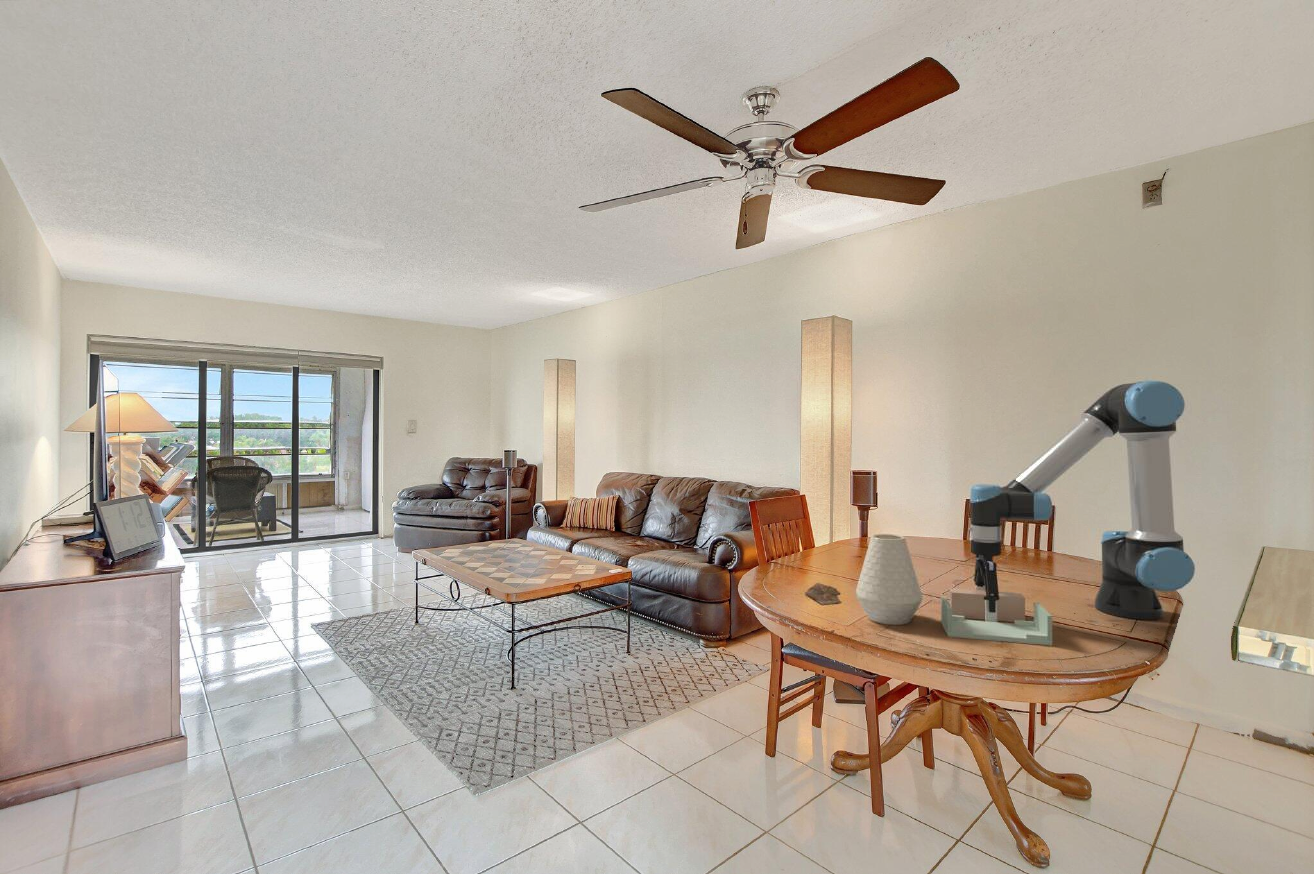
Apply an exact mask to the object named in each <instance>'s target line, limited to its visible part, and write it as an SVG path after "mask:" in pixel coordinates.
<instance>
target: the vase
mask: <svg viewBox="0 0 1314 874" xmlns="http://www.w3.org/2000/svg"><path fill="white" fill-rule="evenodd" d="M917 577H918V576H917V573H916V570H915V567H914V563H913V560H912V556H911V554H910V550H909V546H908V544H907V541H906V537H905V536H902V535H899V534H893V533H892V534H891V533H878V534H877V533H876V534H872V535H871V536H870V540H869V544H868V546H867V550H866V553H865V557H864V560H863V565H862V567H861V571H860V575H859V579H858V582H857V586H856V588H855V596H856V598H857V600H858V601H859V603H860V605H861V607H862V609H863V611H864V612H865V614H866V617H867V618H868V620H870V621H872V622H873V623H874V622H875V623H877V624H881V625H886V626H887V625H889V626H903V625H907V624H908V623H910V622H911V621H912V619H913V618H914V615H915V614H916V612H917V611H918V608H919V607H920V606H921V603H922V602H923V599H924V598H923V593H922V590H921V587H920V584H919V580H918V578H917Z"/></svg>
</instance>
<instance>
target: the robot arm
mask: <svg viewBox="0 0 1314 874" xmlns="http://www.w3.org/2000/svg"><path fill="white" fill-rule="evenodd" d="M1185 406H1186V404H1185V400H1184V397H1183V394H1182V393H1181V391H1180V390H1179V389H1177V388H1176V387H1175V386H1174V385H1172V384H1170V383H1169V382H1168V383H1167V382H1165V381H1160V380H1144V381H1137V382H1132V383H1123V384H1119V385H1116V386H1114V387H1112V388H1111V389H1109V390H1107V391H1106V392H1105V393H1103V395H1102V396H1100V397H1099V398H1098V399H1096V400H1095V402H1093V404H1091V405H1090V406H1089V407H1088V408H1087V409H1086V410H1085V411H1084V412H1083V413H1082V414H1081V415H1080V420H1079V421H1078V422H1077V423H1076V424H1074V425H1073V427H1071V428H1070V429H1069V430H1068V431H1067V432H1066V433H1064V435H1062V436H1061V437H1060V438H1059V439H1058V440H1057V441H1056V442H1055V443H1053V444H1052V445H1051V446H1050V447H1049V448H1047V449H1046V451H1044V452H1043V453H1042V454H1041V455H1039V457H1038V458H1036V459H1035V460H1034V461H1033V462H1032V463H1031V464H1030V465H1029V466H1027V467H1026V468H1025V469H1024V470H1023V471H1022V472H1020V474H1018V475H1017V476H1016V477H1015V478H1014V479H1013V480H1012V481H1010V482H1009V483H1008V484H1007V485H1006V486H1005V485H1004V486H1000V485H998V484H985V483H984V484H982V483H981V484H974V485H973V486H971V488H970V497H969V498H970V499H969V502H970V527H968V529H967V530H968V531H969V532H970V538H971V540H970V553H972V554H973V555H975V565H974V566H975V567H974V573H973V574H974V577H973V581H974V585H975V590H980V591H986V597H984V598H983V599H984V600H985V619H984V620H985V621H987V622H998V620H997V600H999V592H1000V591H999V584H998V573H997V566H998V565H997V562H995V561H994V559H993V558H994V557H998V556H1001V554H1002V542H1001V541H1002V520H1017V521H1019V520H1020V521H1034V522H1037V521H1048V520H1050V518H1051V517H1052V513H1053V503H1052V498H1051V497H1050V495H1049V494H1047V493H1045V492H1044V491H1045V490H1046V489H1048V487H1049V486H1051V485H1052V484H1053V483H1054V482H1056V481H1057V480H1058V479H1059V478H1060V477H1062V475H1064V474H1065V473H1066V472H1067V471H1068V470H1070V468H1072V467H1073V466H1074V465H1075V464H1076V463H1077V462H1079V461H1080V460H1081V459H1082V458H1083V457H1084V456H1085V455H1087V454H1088V453H1089V452H1090V451H1091V450H1092V449H1094V448H1095V447H1096V446H1098V445H1099V443H1101V441H1103V440H1104V439H1105V438H1112V437H1114V436H1115V435H1116V434H1117V433H1118V435H1120V436H1121V437H1122V438H1124V439H1125V440H1126V451H1127V466H1128V467H1127V469H1128V484H1129V485H1128V486H1129V500H1130V514H1131V515H1130V516H1131V517H1130V518H1131V529H1130V530H1128V531H1127V530H1107V531H1104V532H1103V533H1102V535H1101V537H1102V539H1101V542H1100V543H1101V571H1102V572H1101V573H1102V574H1101V578H1102V579H1101V580H1102V581H1101V584H1100V586H1099V589H1098V592H1097V593H1096V597H1095V598H1094V608H1095V609H1096V610H1098V611H1100V612H1102V613H1105V614H1108V615H1113V616H1116V617H1121V618H1127V619H1132V620H1135V619H1136V620H1150V621H1151V620H1159V619H1162V618H1163V616H1164V615H1163V614H1164V610H1163V606H1162V603H1161V601H1160V598H1159V596H1158V593H1157V591H1159V592H1174V591H1178V590H1181V589H1182V588H1184V587H1186V586H1187V585H1188V584H1189V583H1190V582H1191V581H1192V579H1193V578H1194V576H1195V571H1196V567H1195V563H1194V561H1193V559H1192V557H1191V556H1190V555H1189V554H1188V553H1186V552H1185V550H1184V548H1185V547H1184V538H1183V536H1182V535H1181V534H1179V533H1178V532H1177V531H1176V530H1175V518H1174V517H1175V515H1174V499H1173V498H1174V497H1173V485H1172V482H1173V481H1172V468H1171V451H1170V450H1171V449H1170V438H1171V437H1172V436H1173V435H1174V434H1176V433H1177V421H1178V420H1179V419H1180V417H1182V415H1183V413H1184V410H1185ZM991 594H993V595H991Z"/></svg>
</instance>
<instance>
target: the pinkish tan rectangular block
mask: <svg viewBox="0 0 1314 874" xmlns="http://www.w3.org/2000/svg"><path fill="white" fill-rule="evenodd" d="M948 589H949V594H948V595H949V596H948V597H949V604H950V606H951V608H952V615H958V616H964V619H965V618H966V619H976V620H978V619H979V620H985V600H984V599H983V598H984V597H986V591H980V590H976V589H967V588H965V589H963V588H951V587H950V588H948ZM991 595H993V594H991ZM1014 620H1022V621H1026V598H1025V596H1024V594H1022V593H1020V592H1019V593H1018V592H1008V591H1007V592H1006V591H1005V592H1004V591H999V600H997V622H999V621H1000V622H1012V623H1014Z"/></svg>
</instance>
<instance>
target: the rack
mask: <svg viewBox="0 0 1314 874" xmlns="http://www.w3.org/2000/svg"><path fill="white" fill-rule="evenodd" d="M940 601H941V602H940V604H941V607H940V609H941V611H940V614H941V616H940V617H941V619H940V620H941V621H940V623H941V625H942V627H943V629H944V631H945V633H946V635H947V637H951V638H962V639H972V640H973V639H974V640H982V641H995V642H1006V643H1008V642H1009V643H1016V644H1018V643H1019V644H1027V645H1028V644H1029V645H1030V644H1031V645H1039V646H1040V645H1042V646H1053V615H1052V614H1051V613H1049V612H1048V611H1047V610H1046V609H1045V608H1044V607H1043V606H1042V605H1041V604H1040V603H1039V602H1035V601H1034V602H1033V620H1025V621H1022V620H1014V622H1012V623H1009V622H1001V621H1000V622H999V621H997V622H987V621H984V620H971V619H965V618H964V616H958V615H952V608H951V606H950V601H949V600H948V599H947V597H946V596H945V595H944V596H943V595H941V596H940Z"/></svg>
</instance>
